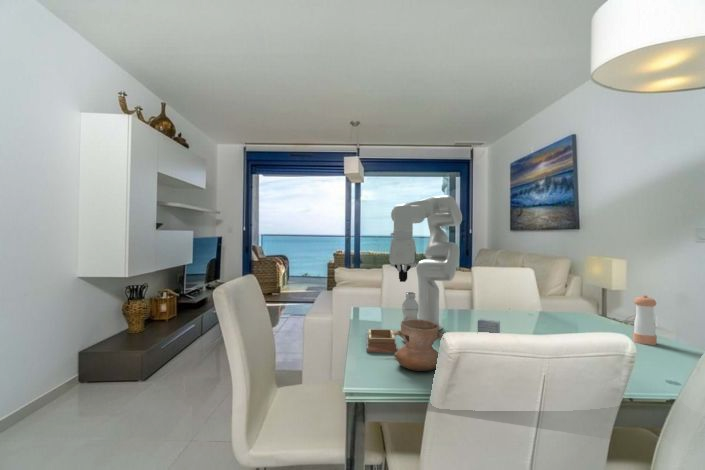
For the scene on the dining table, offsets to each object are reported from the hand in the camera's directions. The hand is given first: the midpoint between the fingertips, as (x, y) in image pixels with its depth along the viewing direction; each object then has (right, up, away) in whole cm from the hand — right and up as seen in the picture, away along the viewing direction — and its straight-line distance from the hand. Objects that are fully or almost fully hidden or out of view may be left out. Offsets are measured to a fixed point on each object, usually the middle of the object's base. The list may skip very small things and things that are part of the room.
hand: (403, 281), depth 136 cm
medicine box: (+35, -25, +1) cm, 43 cm away
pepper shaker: (+99, -25, +3) cm, 102 cm away
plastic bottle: (+3, -25, -1) cm, 25 cm away
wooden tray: (-9, -24, -3) cm, 26 cm away
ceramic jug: (+2, -25, -25) cm, 35 cm away
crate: (-9, -23, -7) cm, 26 cm away
